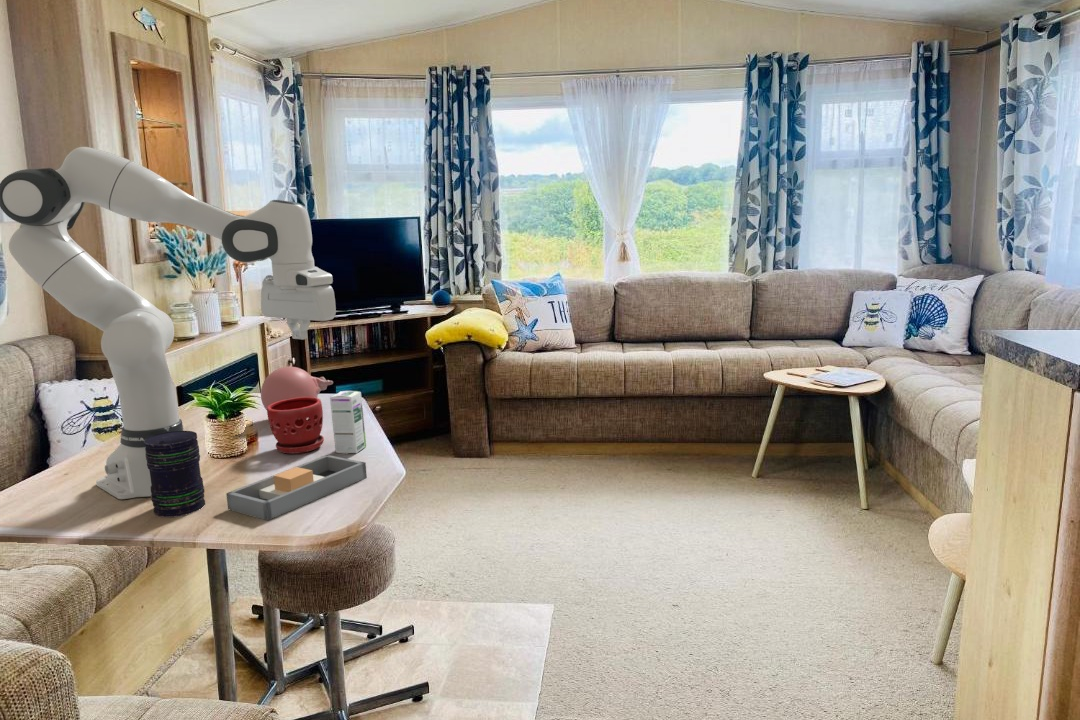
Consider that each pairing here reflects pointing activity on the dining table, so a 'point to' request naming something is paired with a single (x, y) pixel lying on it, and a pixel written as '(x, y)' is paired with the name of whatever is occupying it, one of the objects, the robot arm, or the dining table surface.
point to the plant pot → (296, 424)
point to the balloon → (291, 385)
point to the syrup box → (348, 422)
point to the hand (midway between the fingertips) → (299, 338)
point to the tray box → (272, 502)
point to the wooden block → (293, 479)
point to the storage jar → (175, 473)
